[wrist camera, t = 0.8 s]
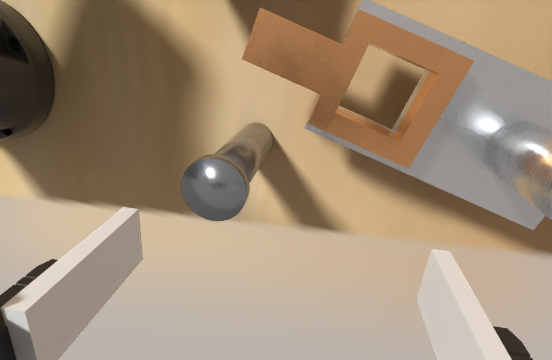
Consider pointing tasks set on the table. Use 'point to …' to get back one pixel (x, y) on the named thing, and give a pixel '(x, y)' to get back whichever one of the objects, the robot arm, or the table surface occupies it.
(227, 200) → the pin
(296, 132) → the table surface
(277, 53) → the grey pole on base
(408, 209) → the table surface
